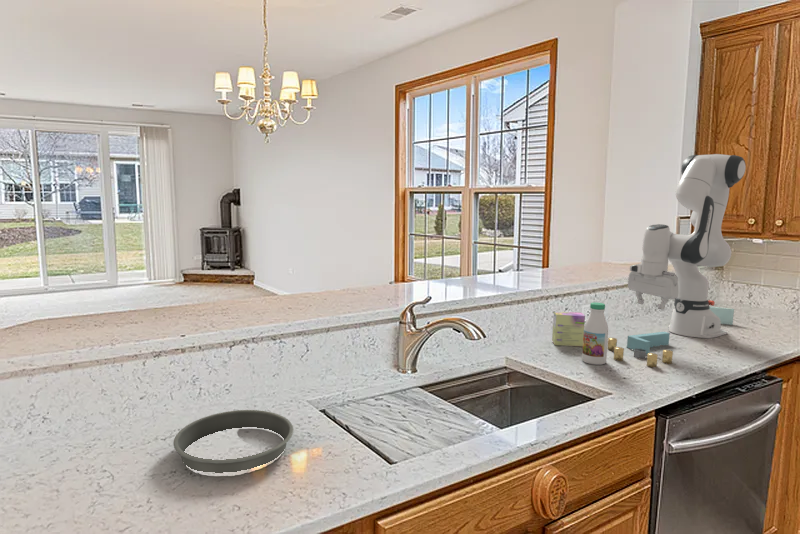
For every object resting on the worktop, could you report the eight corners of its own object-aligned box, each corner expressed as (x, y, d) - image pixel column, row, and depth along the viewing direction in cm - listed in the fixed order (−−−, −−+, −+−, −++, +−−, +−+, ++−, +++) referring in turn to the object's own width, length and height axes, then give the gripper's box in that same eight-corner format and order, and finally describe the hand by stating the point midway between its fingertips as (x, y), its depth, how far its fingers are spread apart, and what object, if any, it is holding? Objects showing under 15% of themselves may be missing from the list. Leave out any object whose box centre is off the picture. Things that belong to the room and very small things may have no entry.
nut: (637, 354, 186) (638, 347, 186) (648, 357, 183) (648, 350, 182) (631, 356, 185) (631, 349, 184) (641, 359, 181) (642, 352, 181)
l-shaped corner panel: (732, 326, 230) (734, 309, 229) (700, 322, 235) (702, 306, 234) (728, 320, 241) (730, 304, 240) (698, 317, 246) (700, 301, 245)
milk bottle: (588, 356, 183) (592, 300, 180) (610, 361, 178) (614, 303, 175) (577, 361, 178) (581, 303, 175) (599, 367, 172) (603, 307, 169)
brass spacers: (626, 346, 196) (627, 335, 196) (676, 364, 176) (678, 352, 175) (591, 350, 190) (592, 339, 190) (638, 369, 170) (639, 357, 169)
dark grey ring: (285, 480, 104) (285, 459, 103) (156, 484, 102) (154, 462, 101) (299, 425, 128) (299, 407, 127) (194, 427, 126) (194, 409, 125)
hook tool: (663, 343, 201) (664, 331, 200) (682, 349, 193) (683, 337, 193) (626, 347, 194) (627, 335, 194) (645, 354, 187) (646, 341, 186)
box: (579, 342, 200) (581, 312, 199) (583, 346, 195) (585, 315, 193) (551, 341, 201) (553, 311, 200) (554, 345, 196) (556, 314, 194)
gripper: (684, 273, 184) (681, 312, 186) (639, 265, 203) (636, 300, 205) (671, 274, 182) (667, 313, 184) (626, 265, 201) (623, 301, 203)
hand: (650, 306), depth 194 cm, fingers open, 8 cm apart
